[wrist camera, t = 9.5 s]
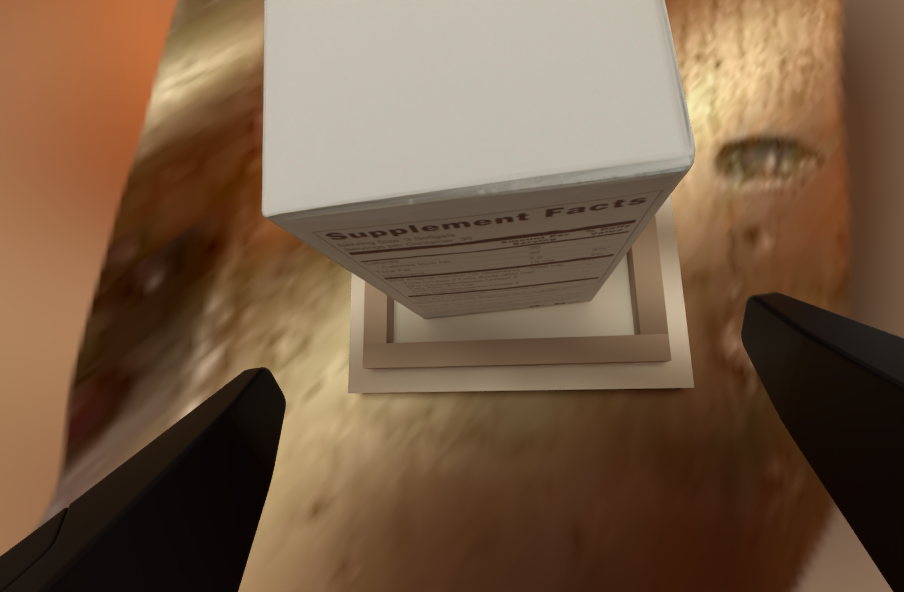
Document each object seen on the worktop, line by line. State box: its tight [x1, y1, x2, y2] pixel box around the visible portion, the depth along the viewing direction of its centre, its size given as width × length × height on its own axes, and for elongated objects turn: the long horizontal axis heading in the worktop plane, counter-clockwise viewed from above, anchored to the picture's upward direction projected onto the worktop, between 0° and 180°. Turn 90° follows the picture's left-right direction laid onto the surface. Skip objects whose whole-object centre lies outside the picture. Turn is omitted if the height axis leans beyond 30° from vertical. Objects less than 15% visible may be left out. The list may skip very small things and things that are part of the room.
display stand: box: [348, 194, 694, 393], centre depth 20 cm, size 14×14×2 cm
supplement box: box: [262, 0, 695, 319], centre depth 14 cm, size 7×7×13 cm
